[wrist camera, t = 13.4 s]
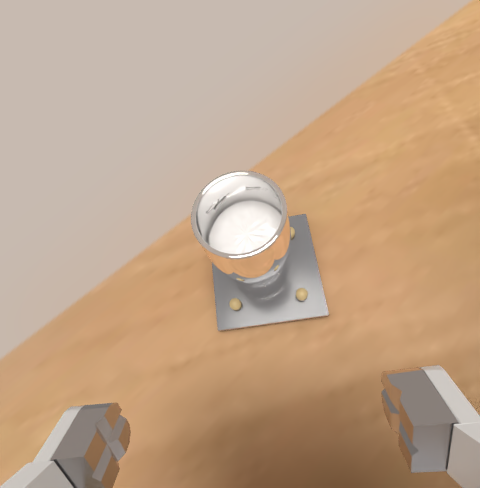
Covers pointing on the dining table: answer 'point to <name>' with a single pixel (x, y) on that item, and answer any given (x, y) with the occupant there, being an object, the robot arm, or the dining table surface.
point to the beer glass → (245, 230)
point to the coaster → (285, 299)
